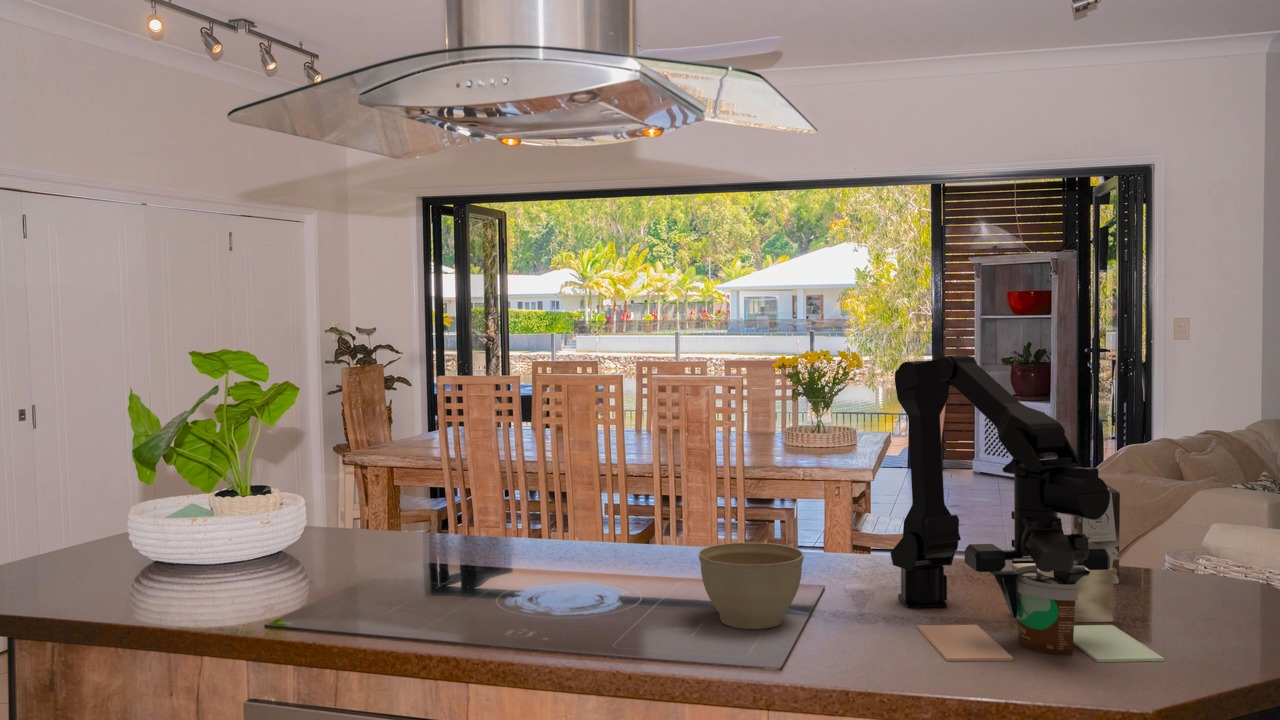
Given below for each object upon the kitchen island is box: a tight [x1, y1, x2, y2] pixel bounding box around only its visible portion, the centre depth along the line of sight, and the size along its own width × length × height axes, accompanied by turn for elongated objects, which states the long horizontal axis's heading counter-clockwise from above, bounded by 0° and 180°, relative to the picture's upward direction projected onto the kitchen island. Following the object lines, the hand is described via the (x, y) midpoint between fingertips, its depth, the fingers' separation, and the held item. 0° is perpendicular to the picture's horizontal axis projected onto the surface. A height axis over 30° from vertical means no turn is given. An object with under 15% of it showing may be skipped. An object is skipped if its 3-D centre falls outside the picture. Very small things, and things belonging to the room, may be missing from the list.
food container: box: [1014, 565, 1078, 656], centre depth 144 cm, size 12×6×10 cm, turn 5°
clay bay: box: [916, 624, 1014, 662], centre depth 146 cm, size 9×15×1 cm, turn 0°
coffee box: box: [1070, 484, 1121, 585], centre depth 181 cm, size 9×6×16 cm
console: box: [1009, 556, 1114, 623], centre depth 158 cm, size 14×6×10 cm, turn 90°
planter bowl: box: [698, 542, 805, 630], centre depth 157 cm, size 16×16×11 cm
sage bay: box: [1073, 624, 1165, 663], centre depth 145 cm, size 9×15×1 cm, turn 0°
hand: (1036, 616), depth 144 cm, fingers closed on food container, 6 cm apart
